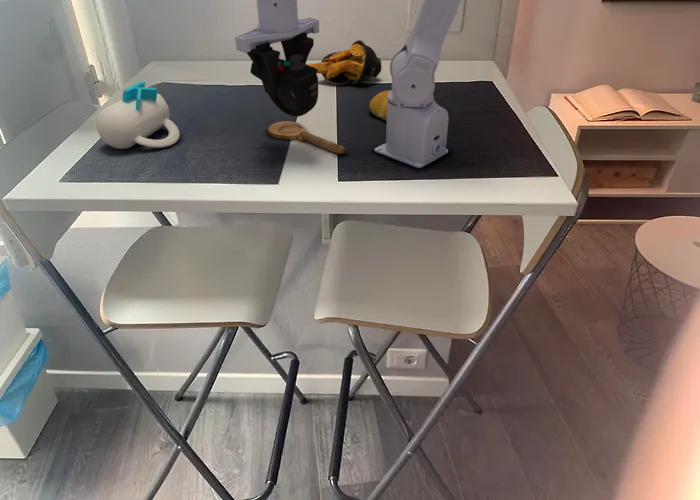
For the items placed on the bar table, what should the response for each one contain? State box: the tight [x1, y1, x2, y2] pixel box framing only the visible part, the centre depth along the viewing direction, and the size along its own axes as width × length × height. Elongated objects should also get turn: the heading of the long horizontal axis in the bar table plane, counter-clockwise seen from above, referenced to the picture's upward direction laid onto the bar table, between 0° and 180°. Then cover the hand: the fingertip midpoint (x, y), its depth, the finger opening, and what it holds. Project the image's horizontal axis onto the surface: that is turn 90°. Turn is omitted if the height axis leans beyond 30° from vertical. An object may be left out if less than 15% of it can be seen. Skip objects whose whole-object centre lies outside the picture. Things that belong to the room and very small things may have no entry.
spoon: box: [267, 120, 346, 155], centre depth 97 cm, size 17×6×1 cm, turn 47°
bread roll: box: [369, 89, 392, 122], centre depth 106 cm, size 8×9×4 cm
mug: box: [95, 80, 181, 150], centre depth 95 cm, size 12×9×12 cm
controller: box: [249, 54, 319, 117], centre depth 88 cm, size 4×12×10 cm, turn 49°
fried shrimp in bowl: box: [306, 39, 383, 86], centre depth 118 cm, size 9×11×18 cm
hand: (283, 89), depth 88 cm, fingers closed on controller, 4 cm apart
